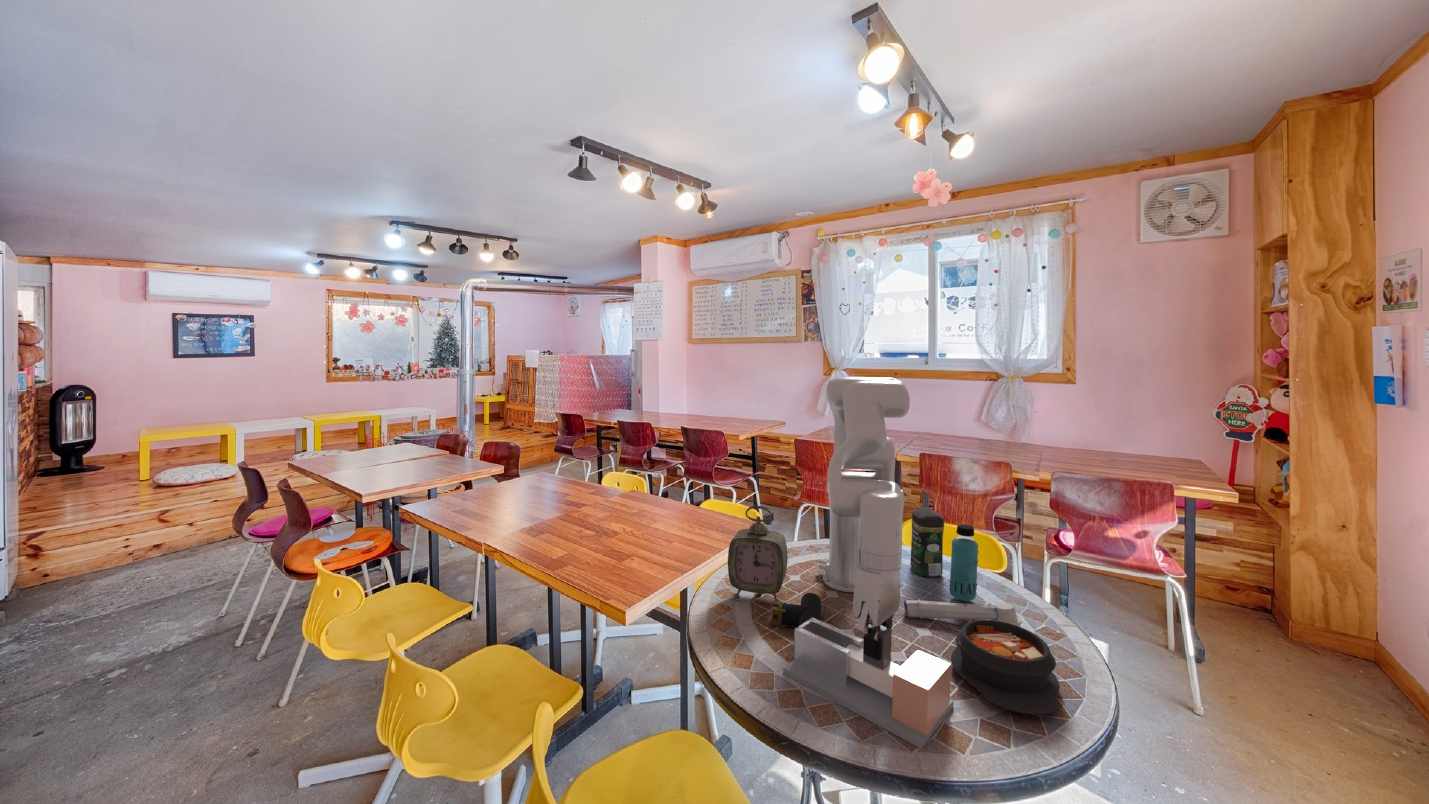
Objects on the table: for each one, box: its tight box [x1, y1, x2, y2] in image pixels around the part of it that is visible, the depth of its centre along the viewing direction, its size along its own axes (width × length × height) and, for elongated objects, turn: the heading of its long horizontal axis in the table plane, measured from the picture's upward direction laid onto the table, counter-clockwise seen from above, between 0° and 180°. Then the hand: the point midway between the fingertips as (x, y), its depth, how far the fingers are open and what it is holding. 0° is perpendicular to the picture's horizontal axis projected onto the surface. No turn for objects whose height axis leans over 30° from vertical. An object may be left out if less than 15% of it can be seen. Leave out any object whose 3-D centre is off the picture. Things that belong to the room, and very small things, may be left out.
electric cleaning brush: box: [903, 598, 1023, 627], centre depth 120 cm, size 5×7×25 cm
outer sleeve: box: [793, 618, 864, 686], centre depth 102 cm, size 12×6×7 cm, turn 45°
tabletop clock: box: [727, 505, 789, 602], centre depth 132 cm, size 14×9×25 cm, turn 73°
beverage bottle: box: [948, 523, 979, 602], centre depth 130 cm, size 6×7×20 cm
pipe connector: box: [770, 592, 822, 628], centre depth 119 cm, size 12×5×15 cm
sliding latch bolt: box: [846, 624, 902, 698], centre depth 93 cm, size 16×4×11 cm, turn 45°
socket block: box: [892, 649, 952, 736], centre depth 88 cm, size 6×10×8 cm, turn 135°
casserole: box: [950, 619, 1061, 716], centre depth 99 cm, size 25×19×8 cm
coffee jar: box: [909, 507, 945, 578], centre depth 148 cm, size 10×8×19 cm
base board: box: [782, 659, 954, 750], centre depth 97 cm, size 28×14×1 cm, turn 45°
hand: (877, 651), depth 94 cm, fingers closed on sliding latch bolt, 3 cm apart
